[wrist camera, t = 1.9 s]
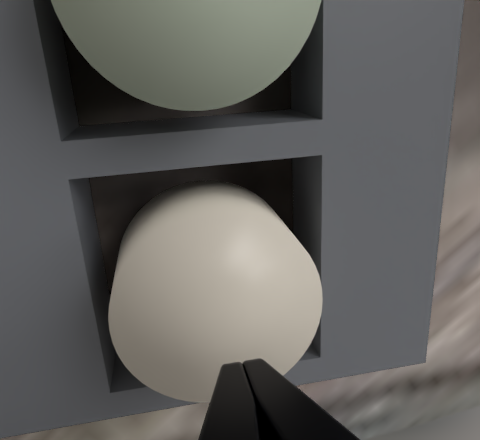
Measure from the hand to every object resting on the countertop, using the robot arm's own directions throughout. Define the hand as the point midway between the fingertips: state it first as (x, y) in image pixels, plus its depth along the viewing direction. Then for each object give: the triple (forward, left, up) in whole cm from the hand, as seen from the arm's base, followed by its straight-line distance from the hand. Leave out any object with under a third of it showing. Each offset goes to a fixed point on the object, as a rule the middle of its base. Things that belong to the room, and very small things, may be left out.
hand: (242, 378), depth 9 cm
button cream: (0, 0, -6) cm, 6 cm away
